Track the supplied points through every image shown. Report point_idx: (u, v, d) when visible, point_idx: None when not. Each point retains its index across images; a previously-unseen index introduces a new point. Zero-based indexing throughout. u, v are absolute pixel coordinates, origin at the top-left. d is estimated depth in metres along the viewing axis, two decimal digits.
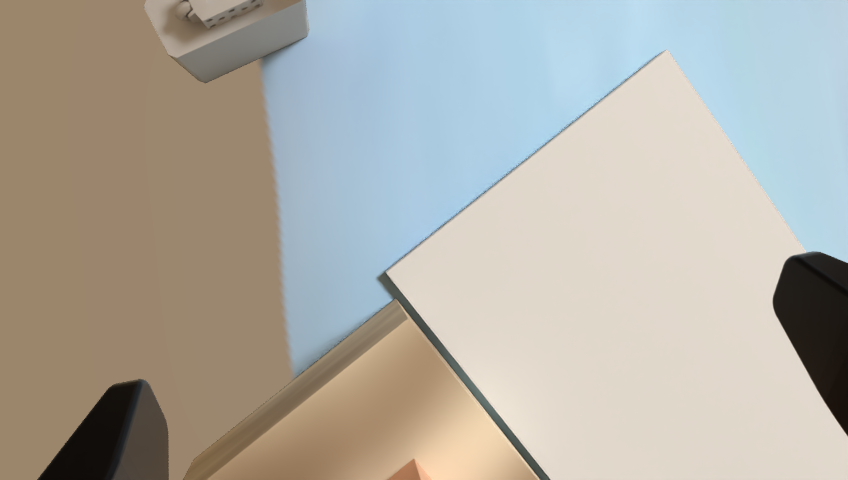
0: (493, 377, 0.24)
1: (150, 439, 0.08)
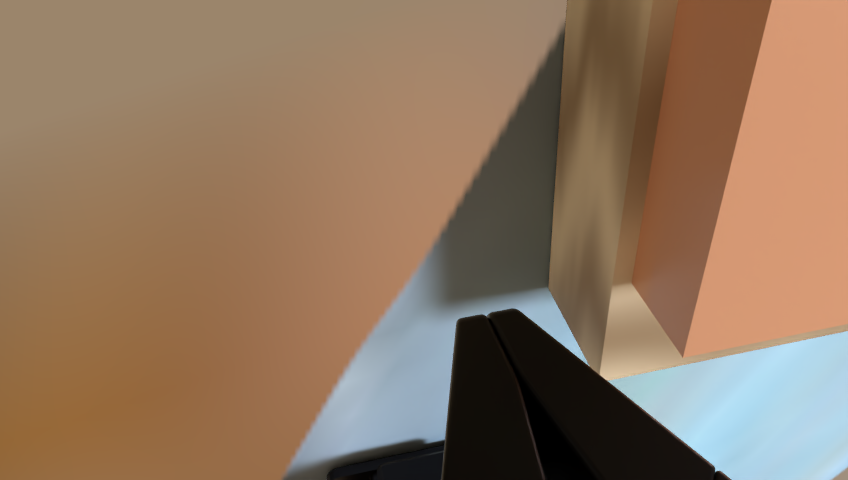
0: None
1: None
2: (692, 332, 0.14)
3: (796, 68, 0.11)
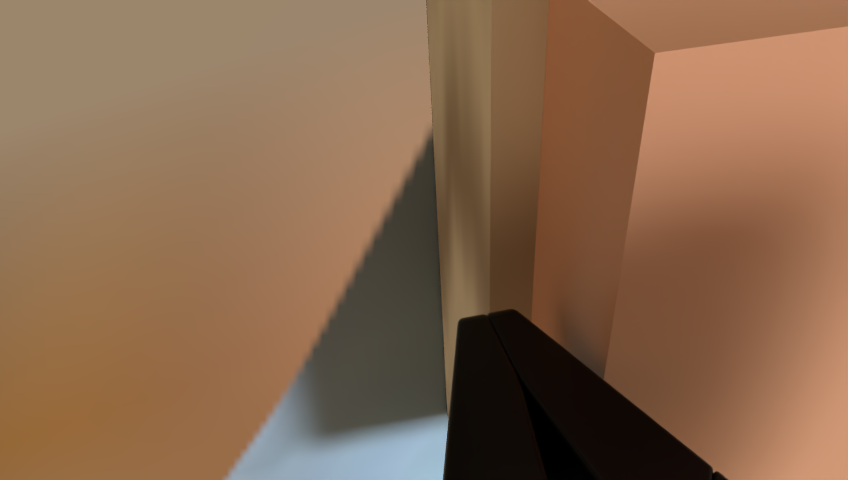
0: None
1: None
2: None
3: (683, 274, 0.07)
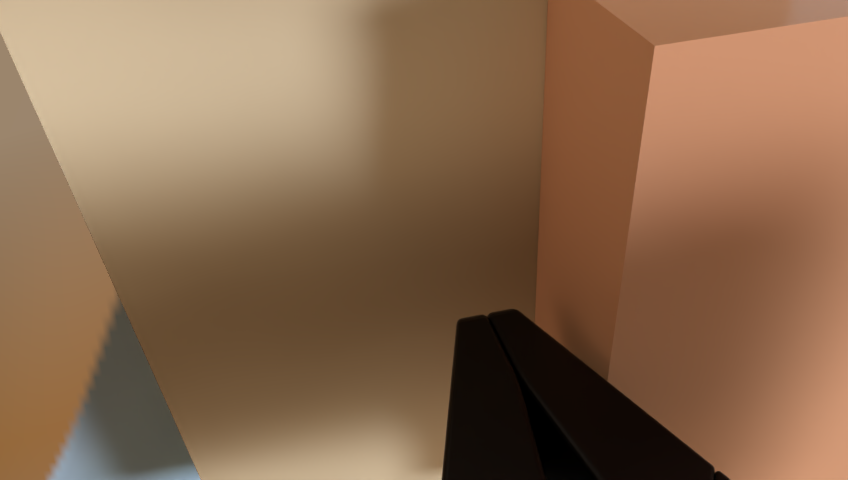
0: None
1: None
2: None
3: (686, 268, 0.07)
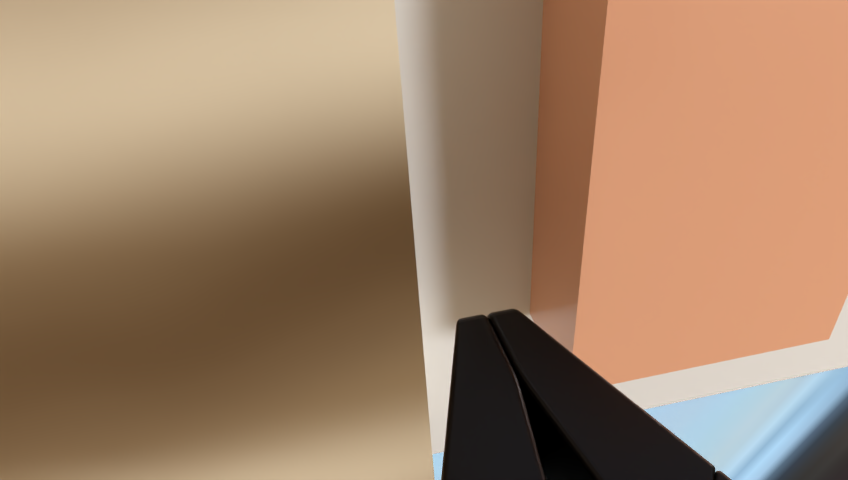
0: None
1: None
2: None
3: None
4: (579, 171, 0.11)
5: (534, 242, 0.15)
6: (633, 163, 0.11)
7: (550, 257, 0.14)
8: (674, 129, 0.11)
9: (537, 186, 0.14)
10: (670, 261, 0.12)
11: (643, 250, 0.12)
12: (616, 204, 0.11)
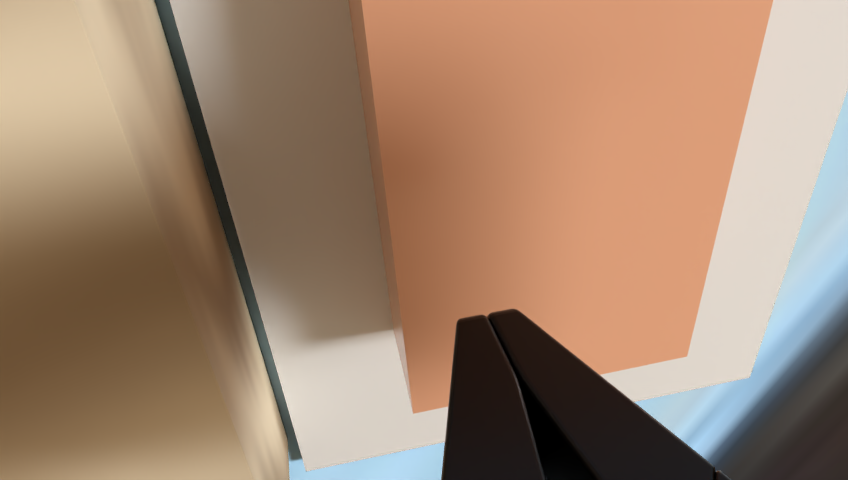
0: None
1: None
2: None
3: None
4: (382, 191, 0.11)
5: None
6: (430, 184, 0.11)
7: (389, 275, 0.13)
8: (467, 149, 0.10)
9: (376, 203, 0.13)
10: (494, 282, 0.12)
11: (461, 270, 0.12)
12: (422, 225, 0.11)
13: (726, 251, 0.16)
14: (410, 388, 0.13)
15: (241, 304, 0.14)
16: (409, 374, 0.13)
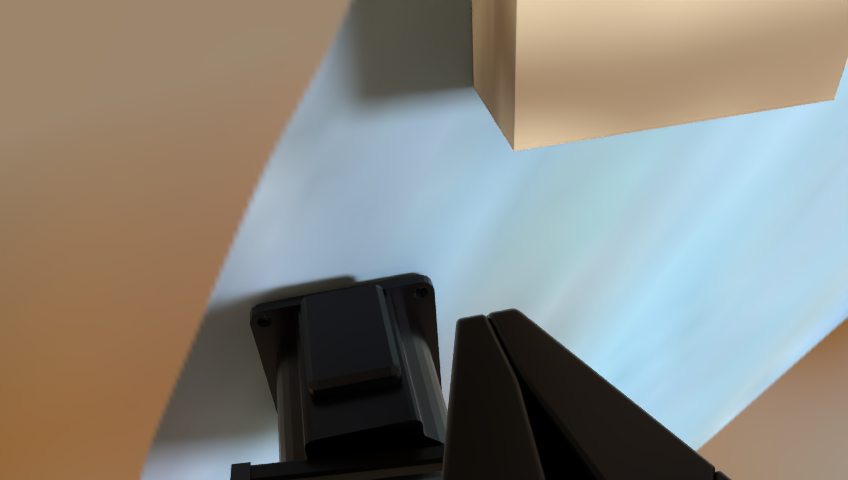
0: None
1: None
2: None
3: None
4: None
5: None
6: None
7: None
8: None
9: None
10: None
11: None
12: None
13: None
14: None
15: None
16: None
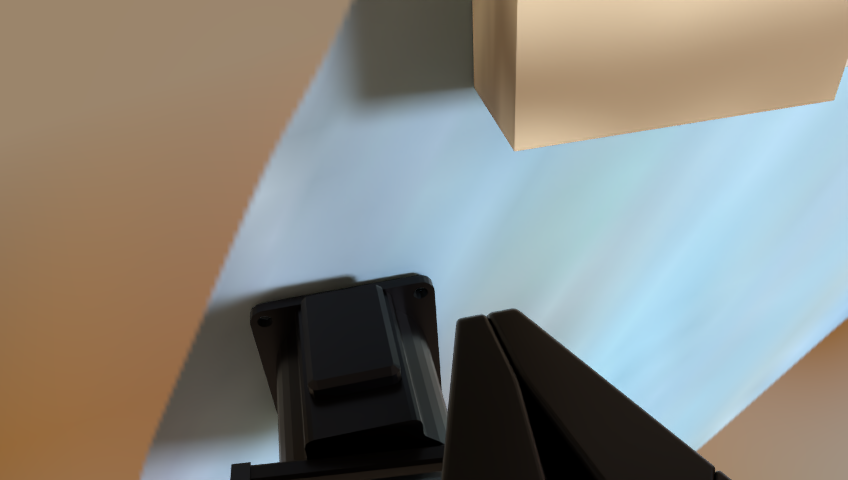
0: None
1: None
2: None
3: None
4: None
5: None
6: None
7: None
8: None
9: None
10: None
11: None
12: None
13: None
14: None
15: None
16: None
